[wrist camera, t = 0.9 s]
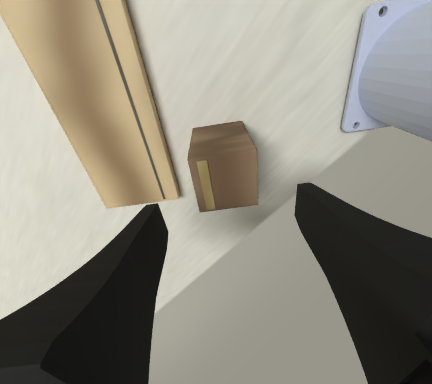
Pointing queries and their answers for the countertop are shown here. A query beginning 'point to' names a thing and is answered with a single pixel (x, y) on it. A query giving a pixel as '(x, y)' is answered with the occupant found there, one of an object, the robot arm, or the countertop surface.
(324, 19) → the countertop surface
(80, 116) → the oak board
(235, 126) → the block
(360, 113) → the robot arm
